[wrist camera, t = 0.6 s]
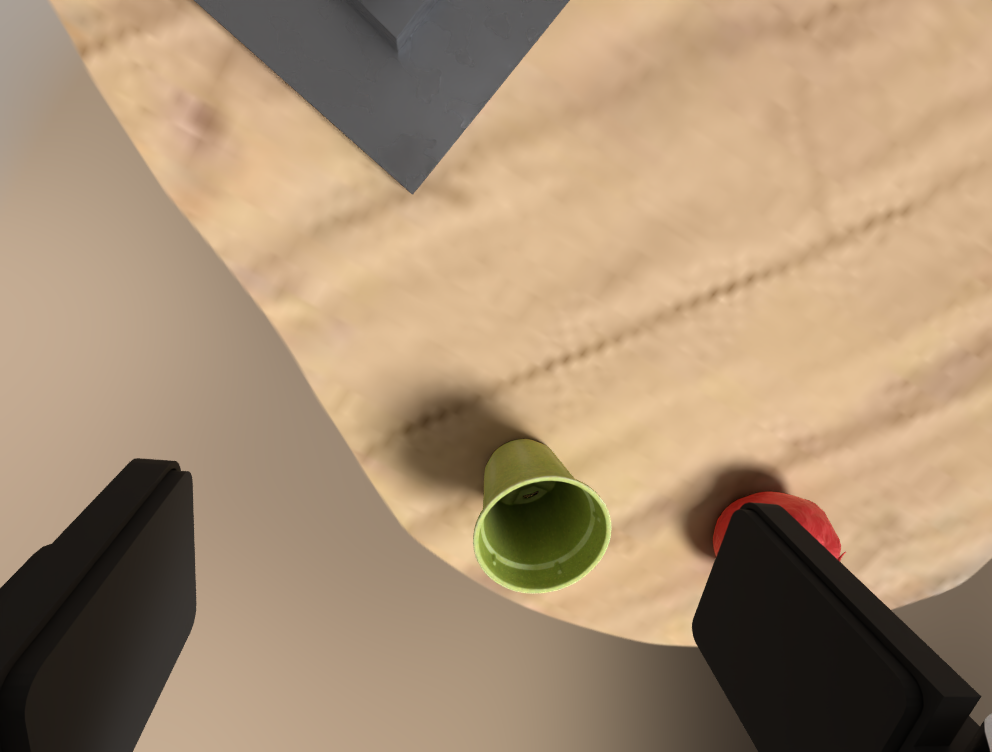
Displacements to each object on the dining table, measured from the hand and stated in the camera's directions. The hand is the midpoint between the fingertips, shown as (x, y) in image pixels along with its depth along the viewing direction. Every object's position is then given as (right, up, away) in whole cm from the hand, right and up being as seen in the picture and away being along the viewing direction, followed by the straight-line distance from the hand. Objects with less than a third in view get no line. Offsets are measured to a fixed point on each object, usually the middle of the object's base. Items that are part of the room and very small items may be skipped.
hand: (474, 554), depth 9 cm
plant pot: (+2, -5, +35) cm, 36 cm away
